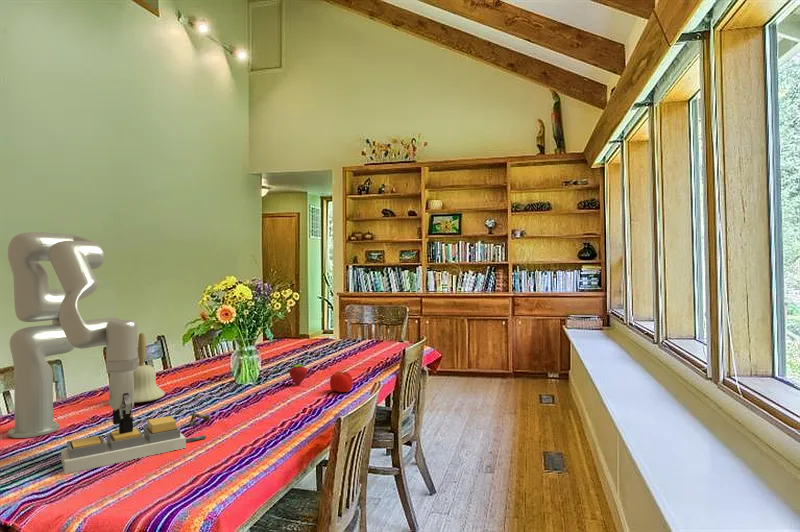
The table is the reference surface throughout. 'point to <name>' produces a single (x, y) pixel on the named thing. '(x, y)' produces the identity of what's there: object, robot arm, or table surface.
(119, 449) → the strip
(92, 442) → the button left
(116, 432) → the button middle
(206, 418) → the wooden post with brackets
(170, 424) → the button right
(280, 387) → the table surface
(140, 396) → the handbell
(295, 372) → the strawberry
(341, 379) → the tomato
